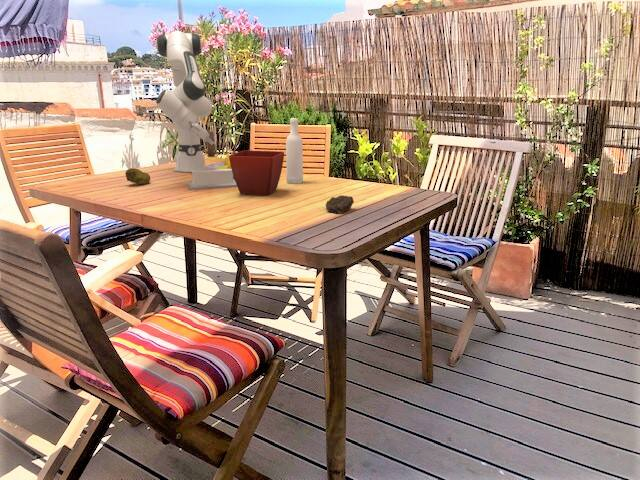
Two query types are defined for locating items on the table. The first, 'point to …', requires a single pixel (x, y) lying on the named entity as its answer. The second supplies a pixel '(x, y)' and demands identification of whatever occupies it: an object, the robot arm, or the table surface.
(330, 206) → the dark brown rock
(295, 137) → the bottle
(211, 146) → the post
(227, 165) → the fruit bowl
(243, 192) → the plant pot
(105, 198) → the table surface
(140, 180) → the potato
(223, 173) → the ridge
